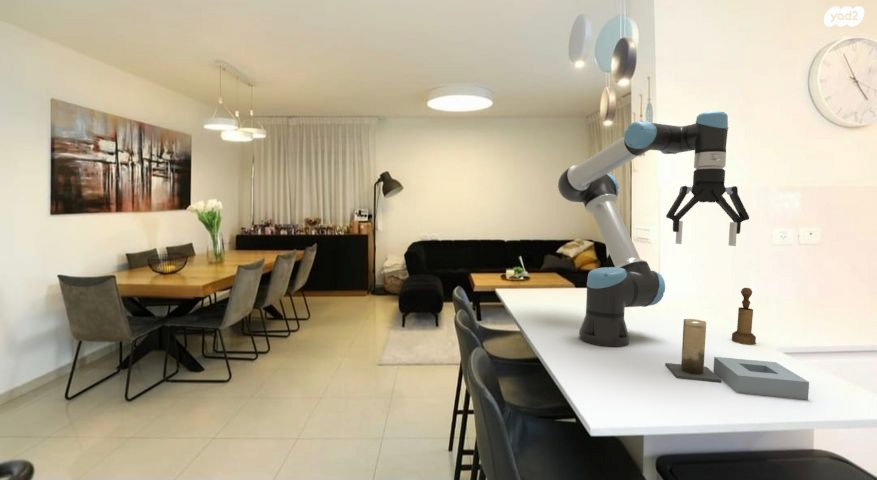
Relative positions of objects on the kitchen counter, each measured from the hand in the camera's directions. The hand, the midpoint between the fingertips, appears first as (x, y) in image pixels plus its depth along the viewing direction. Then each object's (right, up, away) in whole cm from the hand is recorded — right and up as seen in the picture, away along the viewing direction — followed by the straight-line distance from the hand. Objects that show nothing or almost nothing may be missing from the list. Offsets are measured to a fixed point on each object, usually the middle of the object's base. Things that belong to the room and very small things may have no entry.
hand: (704, 244), depth 123 cm
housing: (+2, -34, -17) cm, 38 cm away
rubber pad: (-10, -33, -11) cm, 36 cm away
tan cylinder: (-10, -32, -11) cm, 36 cm away
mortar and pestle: (+26, -33, +21) cm, 47 cm away
